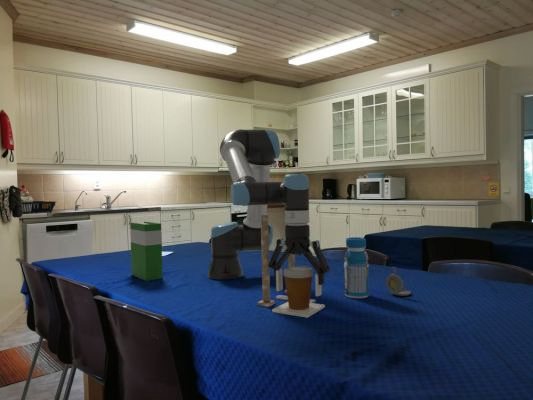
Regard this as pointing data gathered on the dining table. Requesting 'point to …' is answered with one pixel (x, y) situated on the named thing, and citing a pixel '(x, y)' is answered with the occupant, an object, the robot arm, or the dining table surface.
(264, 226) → the gate posts
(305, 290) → the disposable coffee cup
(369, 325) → the dining table surface
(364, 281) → the beverage bottle
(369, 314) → the dining table surface
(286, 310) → the tile
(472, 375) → the dining table surface
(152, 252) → the hardback book
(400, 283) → the pocket watch
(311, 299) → the guide strip
